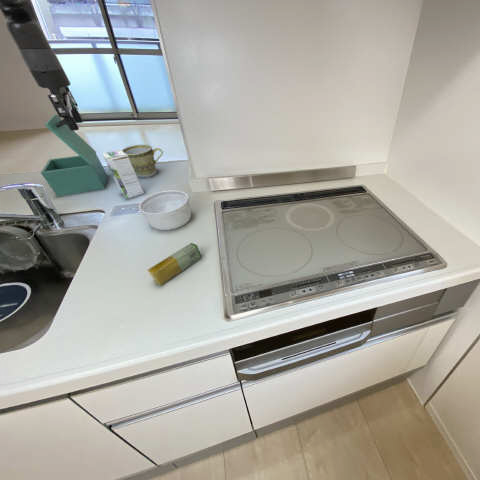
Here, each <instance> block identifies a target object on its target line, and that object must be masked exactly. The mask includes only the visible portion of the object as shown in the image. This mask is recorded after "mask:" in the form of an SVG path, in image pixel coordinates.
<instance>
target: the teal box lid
mask: <svg viewBox="0 0 480 480" xmlns="http://www.w3.org/2000/svg"><path fill="white" fill-rule="evenodd" d="M73 118H74V117H73ZM44 126H45V127H46V128H47V129H48V130H50V131H51V132H52V133H53V134H54V135H55V136H56V137H57V138H58V139H60V140H61V141H62V142H63V143H64V144H65V145H67V146H68V147H69V148H70V150H72V151H73V152H74V153H75V154H76V155H77V156H80V157H81V158H82V159H84V160H85V161H86V162H87V163H88V164H89V165H91V164H92V163H93V160H94V157H95V154H96V155H97V151H96V150H95V149H94V148H93V147H92V146H91V145H90V144H89V143H88V142H86V141H85V140H84V138H82V137H81V136H80V135H79V134H78V133H77V132H76V130H74V131H72V130H70V129H69V127H68V125H67V123H66V122H65V120H64V118H62V117H59V116H58V114H57V113H55V114H53V115H52V116H51V117H50V119H48V121H47V122H46V123H45V124H44Z"/></svg>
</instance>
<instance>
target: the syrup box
mask: <svg viewBox="0 0 480 480" xmlns="http://www.w3.org/2000/svg"><path fill="white" fill-rule="evenodd" d="M122 150H123V149H117V150H110V151H106V152H104V153H103V152H102V157H103V159H104V160H105V163H106V165H107V167H108V169H109V170H110V173H111V175H112V177H113V179H114V181H115V183H116V185H117V187H118V189H119V191H120V193H121V194H122V196H124V198H126V199H128V200H129V199H132V198H134V197H138V196H140V195H143V194H145V192H144V189H143V187H142V185H141V182H140V180H139V178H138V175H137V174H136V173H135V171H134V169H133V167H132V164H131V162H130V160H129V158H128V155H127V154H126V153H125V152H123V151H122Z"/></svg>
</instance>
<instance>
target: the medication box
mask: <svg viewBox="0 0 480 480" xmlns="http://www.w3.org/2000/svg"><path fill="white" fill-rule="evenodd" d="M202 258H203V255H202V254H201V252H200V249H199V247H198V245H197V244H195V243H194V242H193V243H192V242H190V243H189V244H187V245H186V246H184V247H182V248H181V249H179V250H177V251H176V252H174V253H172V254H171V255H169V256H168V257H166V258H165V259H163V260H161V261H159V262H158V263H156V264H155V265H153V266H151V267H150V268H148V269H147V272H148V273H149V275H150V277H151V278H152V279H153V283H155V284H157V285H159V286H162V285H163V284H165V283H166V282H167V281H169V280H170V279H172V278H174V277H175V276H176V275H178V274H179V273H181V272H182V271H184V270H185V269H187V268H188V267H190V266H191V265H192V264H194V263H196V262H197V261H198V260H200V259H202Z"/></svg>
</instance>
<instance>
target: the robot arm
mask: <svg viewBox="0 0 480 480" xmlns="http://www.w3.org/2000/svg"><path fill="white" fill-rule="evenodd" d="M0 12H1V14H2V16H3V17H4V25H5V28H6V30H7V32H8V34H9V35H10V37H11V40H12V41H13V43H14V44H15V46H16V48H17V50H18V52H19V54H20V57H21V58H22V61H23V62H24V64H25V66H26V67H27V69H28V71H29V72H30V73H31V76H32V77H33V79H34V81H35V83H36V84H37V86H38V87H39V88H42V89H48V90H49V93H50V94H47V98H48V99H49V102H50V103H51V105H52V106H53V108H54V110H55V112H56V115H57V116H59V117H60V118H61V119H64V120H65V122H66V123H67V125H68V127H69V129H70V130H72V131H79V128H80V127H79V126H78V124H81V123H82V124H83V123H84V120H83V118H82V116H81V114H80V112H79V105H78V102H77V100H76V99H75V97H74V96H73V94H72V92H71V90H70V88H69V87H70V86H71V81H70V79H69V77H68V75H67V73H66V72H65V69H64V68H63V66H62V64H61V62H60V60H59V59H58V56H57V54H56V53H55V51H54V50H53V48H52V47H51V45H50V43H49V41H48V38H47V37H46V34H45V33H44V31H43V29H42V28H41V26H40V23H39V21H38V18H37V16H36V12H35V10H34V8H33V5H32V2H31V1H30V0H0ZM73 117H74V118H73Z"/></svg>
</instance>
